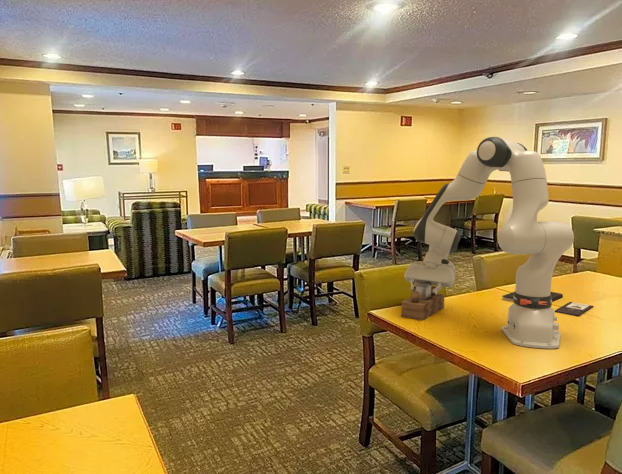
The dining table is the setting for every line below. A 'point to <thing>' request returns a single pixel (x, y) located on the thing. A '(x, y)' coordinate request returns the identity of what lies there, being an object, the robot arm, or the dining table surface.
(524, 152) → the robot arm
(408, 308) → the brown block with knob
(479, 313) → the dining table surface
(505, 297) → the hardcover book
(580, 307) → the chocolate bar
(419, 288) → the grey upright block
